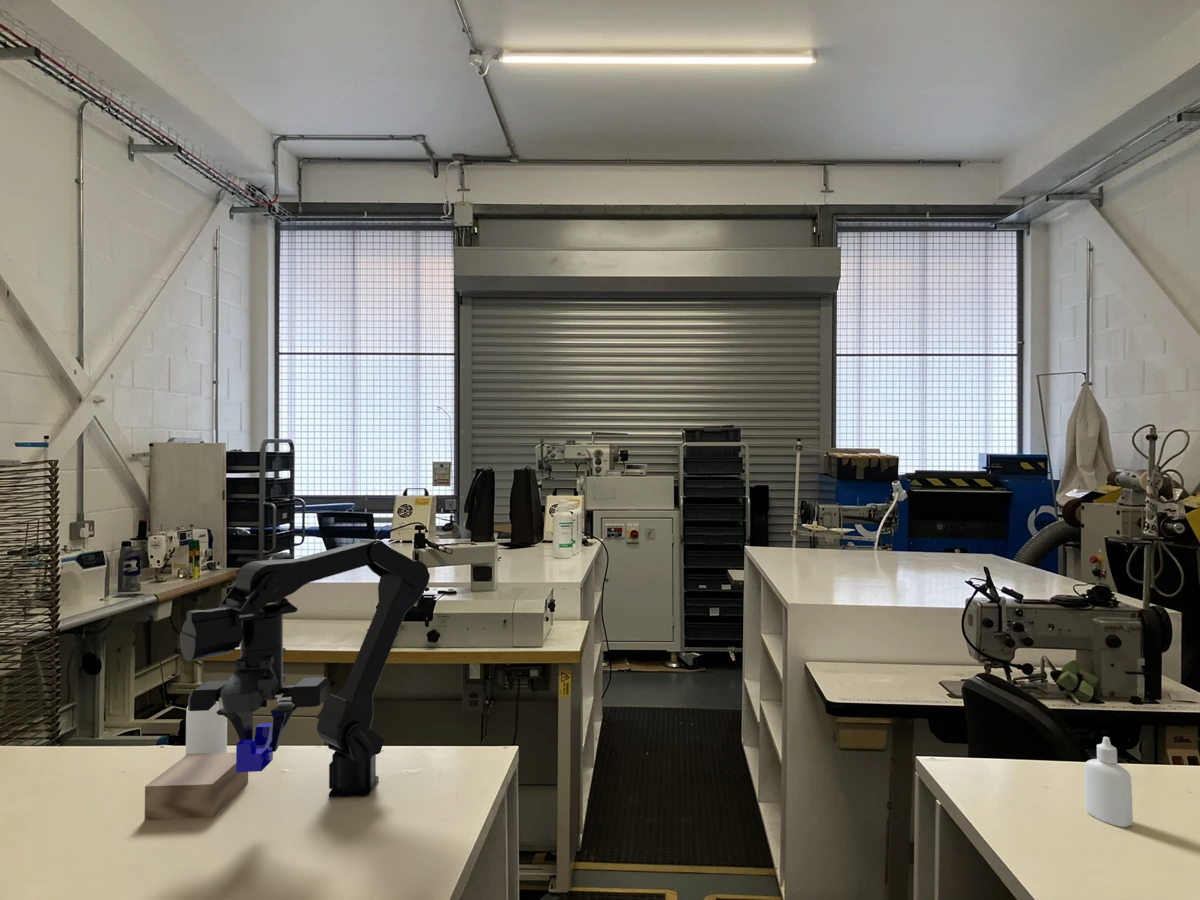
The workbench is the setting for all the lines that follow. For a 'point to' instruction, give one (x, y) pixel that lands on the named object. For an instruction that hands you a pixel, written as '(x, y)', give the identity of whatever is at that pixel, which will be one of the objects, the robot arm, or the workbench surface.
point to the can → (206, 731)
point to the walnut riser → (194, 787)
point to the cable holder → (255, 750)
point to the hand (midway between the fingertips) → (261, 751)
